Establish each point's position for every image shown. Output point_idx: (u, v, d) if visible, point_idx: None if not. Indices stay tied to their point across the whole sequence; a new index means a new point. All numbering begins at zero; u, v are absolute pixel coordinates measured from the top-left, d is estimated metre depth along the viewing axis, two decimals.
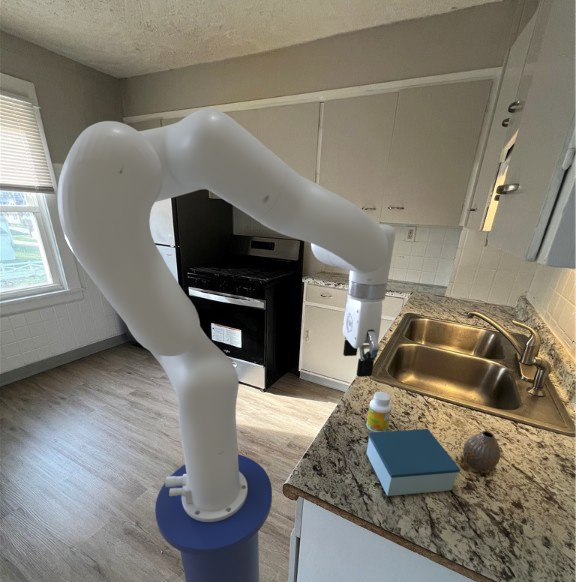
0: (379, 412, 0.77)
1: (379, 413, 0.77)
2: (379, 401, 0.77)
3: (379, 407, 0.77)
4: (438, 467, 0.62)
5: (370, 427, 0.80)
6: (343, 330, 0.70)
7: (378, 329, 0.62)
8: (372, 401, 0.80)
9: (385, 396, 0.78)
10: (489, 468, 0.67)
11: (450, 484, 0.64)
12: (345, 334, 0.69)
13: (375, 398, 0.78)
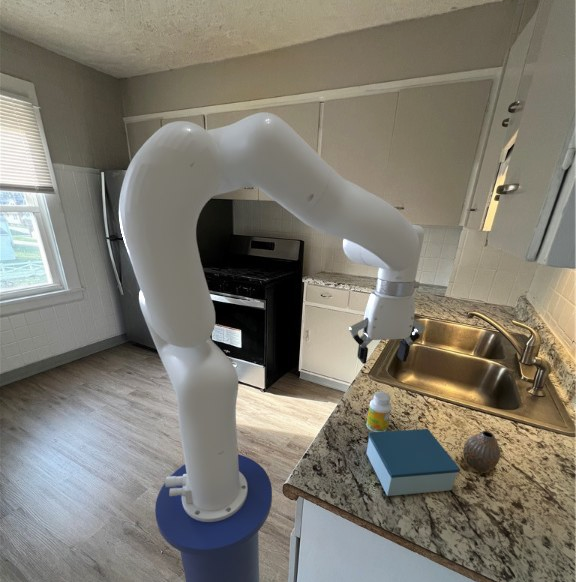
0: (379, 412, 0.77)
1: (380, 413, 0.77)
2: (379, 401, 0.77)
3: (379, 407, 0.77)
4: (438, 467, 0.62)
5: (370, 427, 0.80)
6: None
7: (370, 320, 0.66)
8: (372, 401, 0.80)
9: (385, 396, 0.78)
10: (489, 468, 0.67)
11: (450, 484, 0.64)
12: None
13: (375, 398, 0.78)
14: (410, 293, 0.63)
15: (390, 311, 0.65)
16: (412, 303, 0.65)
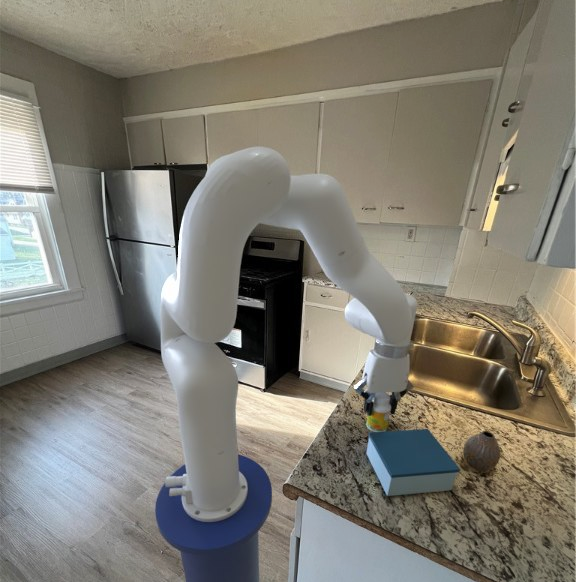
0: (379, 412, 0.77)
1: (379, 413, 0.77)
2: (378, 401, 0.77)
3: (379, 407, 0.77)
4: (438, 467, 0.62)
5: (370, 427, 0.80)
6: None
7: (369, 377, 0.73)
8: (372, 401, 0.80)
9: (385, 396, 0.78)
10: (489, 468, 0.67)
11: (450, 484, 0.64)
12: None
13: (375, 398, 0.78)
14: (405, 355, 0.70)
15: (387, 369, 0.72)
16: (407, 362, 0.72)
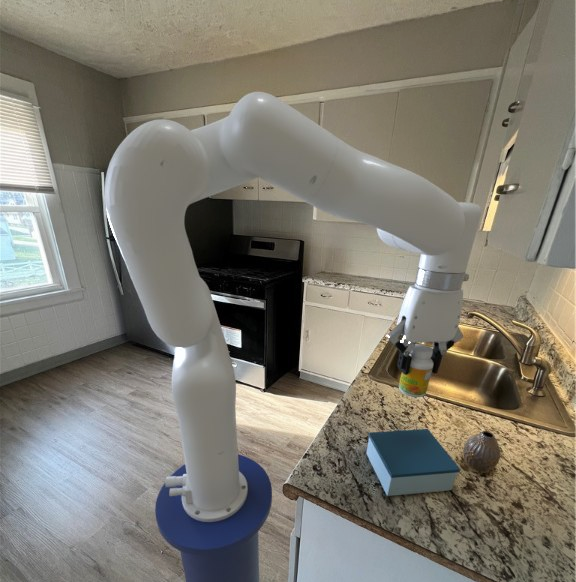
0: (418, 369, 0.60)
1: (419, 370, 0.60)
2: (418, 355, 0.59)
3: (418, 362, 0.60)
4: (438, 467, 0.62)
5: (405, 390, 0.63)
6: None
7: (409, 319, 0.56)
8: None
9: (426, 349, 0.60)
10: (489, 468, 0.67)
11: (450, 484, 0.64)
12: None
13: (413, 351, 0.60)
14: (459, 287, 0.53)
15: (433, 308, 0.54)
16: (460, 299, 0.55)
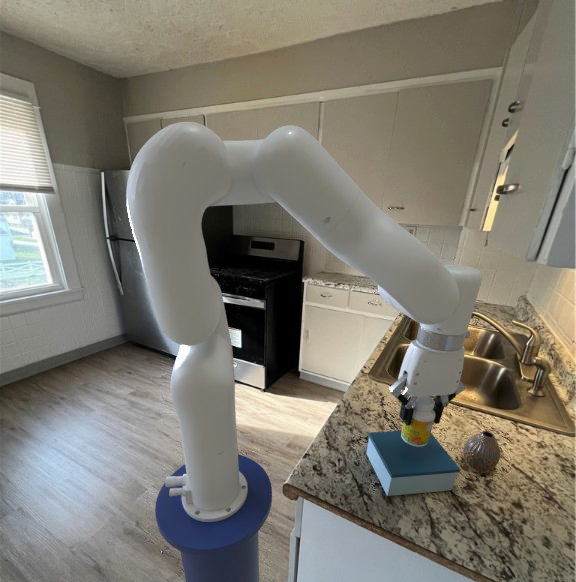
0: (420, 421, 0.60)
1: (421, 422, 0.60)
2: (420, 407, 0.60)
3: (420, 414, 0.60)
4: (438, 467, 0.62)
5: (407, 440, 0.63)
6: None
7: (411, 376, 0.56)
8: None
9: (428, 401, 0.61)
10: (489, 468, 0.67)
11: (450, 484, 0.64)
12: None
13: (415, 403, 0.61)
14: (461, 346, 0.53)
15: (435, 366, 0.55)
16: (461, 356, 0.55)
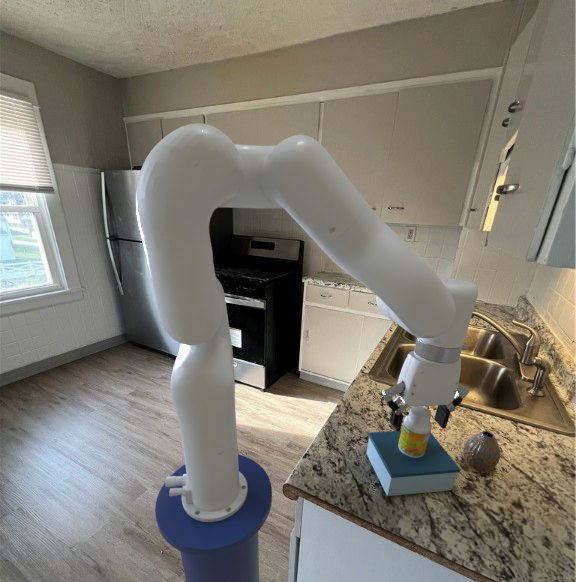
0: (417, 433, 0.61)
1: (418, 434, 0.61)
2: (417, 420, 0.61)
3: (417, 426, 0.61)
4: (438, 467, 0.62)
5: (404, 451, 0.64)
6: None
7: (408, 386, 0.57)
8: (407, 418, 0.64)
9: (425, 413, 0.62)
10: (489, 468, 0.67)
11: (450, 484, 0.64)
12: None
13: (412, 415, 0.62)
14: (457, 358, 0.54)
15: (432, 377, 0.56)
16: (458, 368, 0.56)
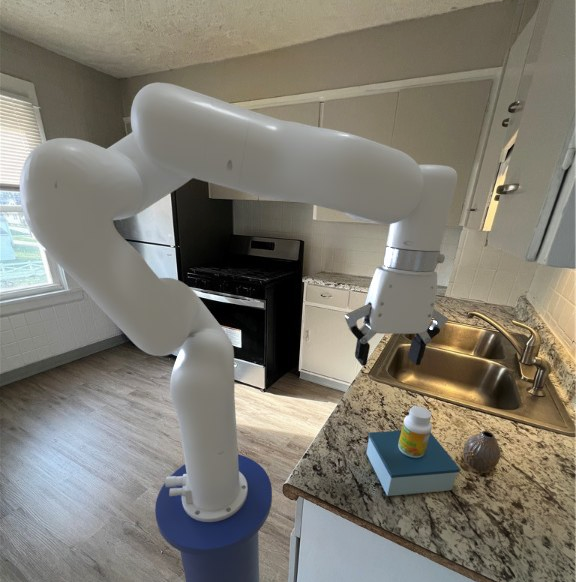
0: (417, 433, 0.61)
1: (418, 434, 0.61)
2: (417, 420, 0.61)
3: (417, 426, 0.61)
4: (438, 467, 0.62)
5: (404, 451, 0.64)
6: None
7: (375, 306, 0.48)
8: (407, 418, 0.64)
9: (425, 413, 0.62)
10: (489, 468, 0.67)
11: (450, 484, 0.64)
12: None
13: (412, 415, 0.62)
14: (432, 268, 0.45)
15: (402, 293, 0.47)
16: (434, 283, 0.47)
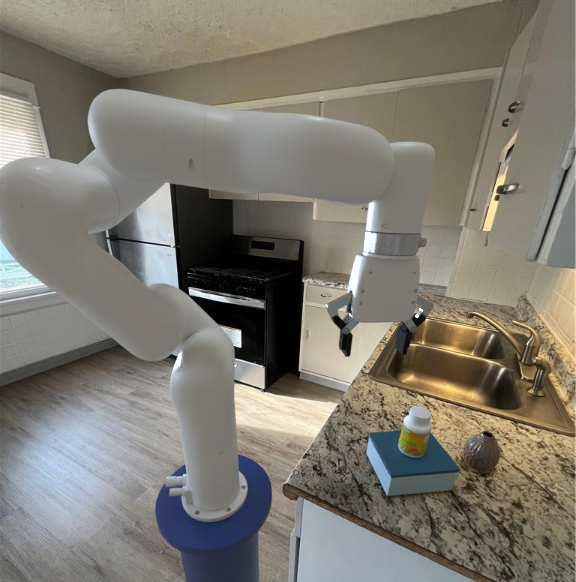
0: (417, 433, 0.61)
1: (418, 434, 0.61)
2: (417, 420, 0.61)
3: (417, 426, 0.61)
4: (438, 467, 0.62)
5: (404, 451, 0.64)
6: None
7: (355, 294, 0.46)
8: (407, 418, 0.64)
9: (425, 413, 0.62)
10: (489, 468, 0.67)
11: (450, 484, 0.64)
12: None
13: (412, 415, 0.62)
14: (413, 252, 0.43)
15: (383, 279, 0.45)
16: (416, 268, 0.45)
